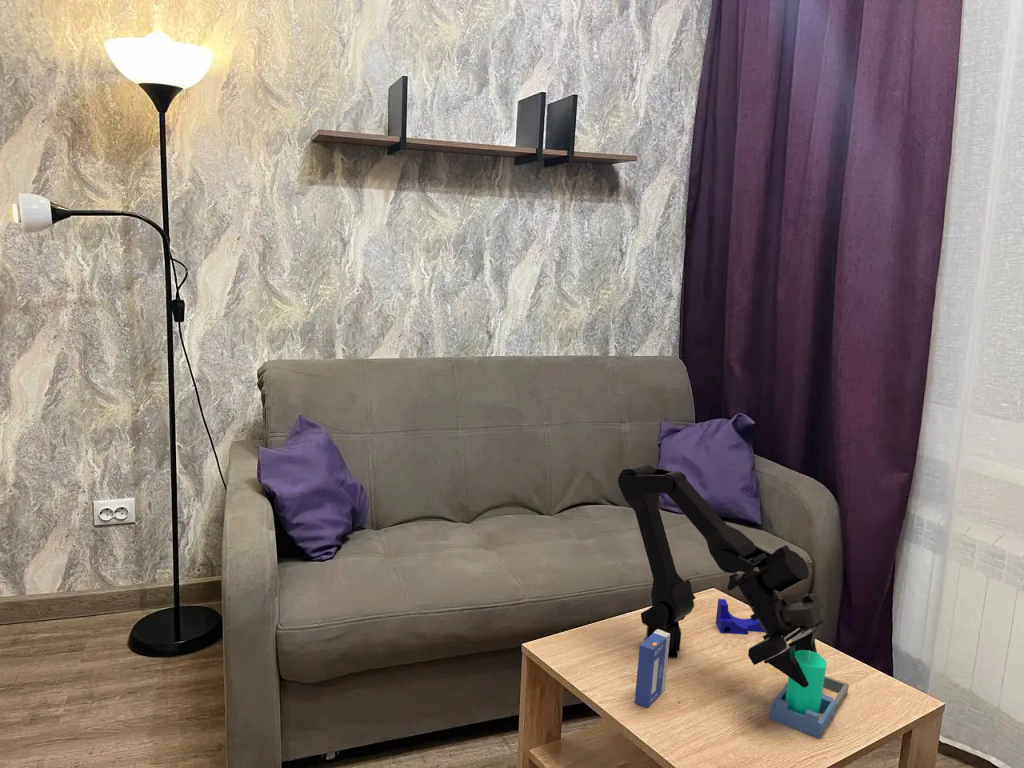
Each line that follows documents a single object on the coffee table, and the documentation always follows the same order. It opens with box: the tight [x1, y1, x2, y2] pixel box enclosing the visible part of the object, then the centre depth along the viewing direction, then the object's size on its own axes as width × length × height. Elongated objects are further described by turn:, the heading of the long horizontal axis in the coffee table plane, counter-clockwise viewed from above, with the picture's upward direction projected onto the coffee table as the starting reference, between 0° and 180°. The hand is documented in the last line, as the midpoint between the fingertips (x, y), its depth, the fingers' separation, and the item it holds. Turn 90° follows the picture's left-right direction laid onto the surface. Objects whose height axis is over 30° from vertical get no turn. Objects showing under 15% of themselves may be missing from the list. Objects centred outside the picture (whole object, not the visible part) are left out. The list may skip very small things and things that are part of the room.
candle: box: [785, 650, 828, 715], centre depth 147 cm, size 6×6×12 cm
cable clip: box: [715, 598, 765, 635], centre depth 180 cm, size 12×4×6 cm, turn 89°
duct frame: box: [768, 675, 850, 739], centre depth 152 cm, size 18×9×4 cm, turn 144°
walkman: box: [634, 629, 670, 709], centre depth 151 cm, size 8×3×12 cm, turn 146°
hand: (813, 680), depth 146 cm, fingers closed on candle, 5 cm apart
